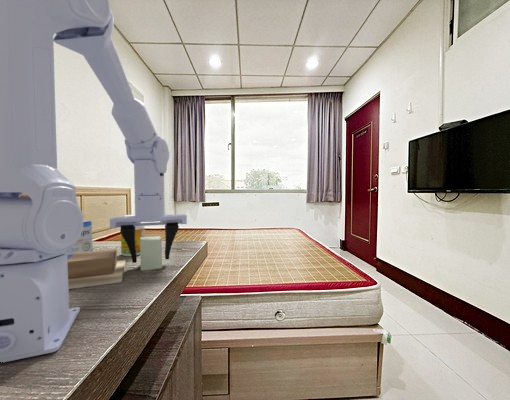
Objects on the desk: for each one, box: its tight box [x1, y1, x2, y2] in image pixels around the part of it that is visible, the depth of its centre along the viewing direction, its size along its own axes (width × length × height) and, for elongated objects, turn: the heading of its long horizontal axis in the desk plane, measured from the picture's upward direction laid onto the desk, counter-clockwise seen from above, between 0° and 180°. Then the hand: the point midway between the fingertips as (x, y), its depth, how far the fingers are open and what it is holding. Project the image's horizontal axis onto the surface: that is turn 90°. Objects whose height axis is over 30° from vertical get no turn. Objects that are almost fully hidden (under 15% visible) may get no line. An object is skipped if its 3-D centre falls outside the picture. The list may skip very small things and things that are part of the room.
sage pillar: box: [139, 235, 163, 271], centre depth 53 cm, size 4×4×6 cm
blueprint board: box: [67, 248, 127, 290], centre depth 47 cm, size 11×10×4 cm
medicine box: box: [67, 219, 94, 260], centre depth 58 cm, size 8×4×9 cm, turn 168°
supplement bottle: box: [120, 213, 146, 257], centre depth 63 cm, size 5×5×10 cm
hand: (151, 259), depth 53 cm, fingers open, 6 cm apart
